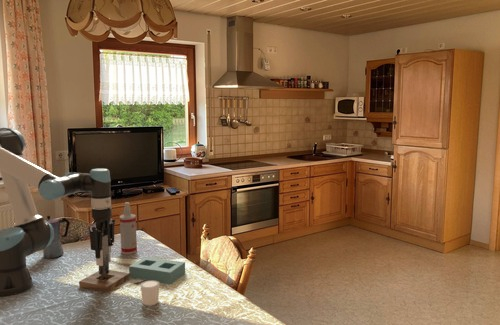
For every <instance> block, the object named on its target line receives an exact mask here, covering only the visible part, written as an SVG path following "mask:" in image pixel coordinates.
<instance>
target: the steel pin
mask: <svg viewBox="0 0 500 325" xmlns="http://www.w3.org/2000/svg"><path fill="white" fill-rule="evenodd" d="M101 250H103V266H99V265H98V271H99V274H100V275H106V274H108V273H109V270H110V262H109V254H108V234H102V244H101Z"/></svg>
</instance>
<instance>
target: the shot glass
mask: <svg viewBox="0 0 500 325" xmlns="http://www.w3.org/2000/svg"><path fill="white" fill-rule="evenodd" d="M140 290H141V292H140V293H141V299H142V305H145V306H154V305H157V304H158V302H159V298H160V297H159V295H160V294H159V293H160V282H158V281H154V280H150V281H148V280H144V281H143V282H141V283H140Z"/></svg>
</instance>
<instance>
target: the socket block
mask: <svg viewBox="0 0 500 325" xmlns="http://www.w3.org/2000/svg"><path fill="white" fill-rule="evenodd" d="M130 279H131V278H130V273H129V272H126V271H119V270H113V269H109V273H108V274H106V275H100V274H99V270H97V271H96V272H93V273H92V274H90V275H88V276H86V277H85V278H83V279H81V280H79V281H78V285H79V286H78V287H79V288H81V289H86V290H92V291H96V292H104V293H110V292H112V291H113V290H114V289H116V288H118V287H120V286H121V285H122V284H124V283H126V282H127V281H129V280H130Z"/></svg>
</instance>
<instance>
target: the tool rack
mask: <svg viewBox="0 0 500 325" xmlns="http://www.w3.org/2000/svg"><path fill="white" fill-rule="evenodd" d="M128 271H129V272H128V273H130V279H136V280H141V281H150V280H154V281H158V282H159V284H168V285H172V284H173V283H174V282H176V281H177V280H178V279H180V278H182V277H183V276H184V275H185V274H186V262H185V261H179V260H178V261H177V260H172V259H165V258H157V257H149V256H145V257H143V258H140V259H139V260H137V261H136V262H133V263H132V264H130V265H128Z"/></svg>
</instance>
